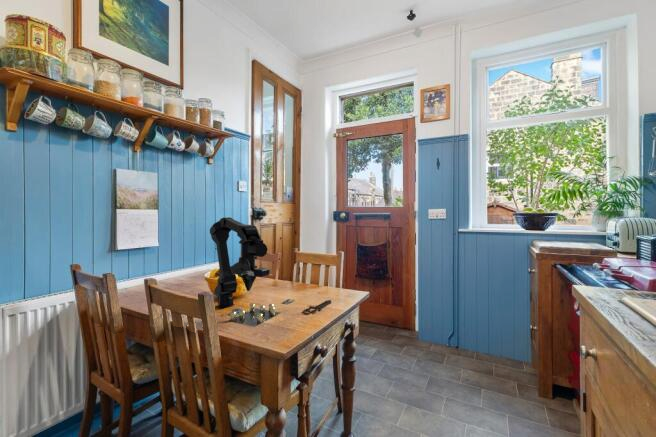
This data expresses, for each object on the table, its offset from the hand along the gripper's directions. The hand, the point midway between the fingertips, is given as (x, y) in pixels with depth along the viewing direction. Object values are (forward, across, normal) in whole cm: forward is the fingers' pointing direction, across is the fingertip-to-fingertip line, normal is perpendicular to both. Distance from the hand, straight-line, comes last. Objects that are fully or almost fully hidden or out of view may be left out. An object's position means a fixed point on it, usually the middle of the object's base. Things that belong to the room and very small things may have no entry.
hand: (248, 290), depth 131 cm
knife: (+12, +21, +24) cm, 34 cm away
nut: (+12, -6, 0) cm, 13 cm away
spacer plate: (+11, +3, 0) cm, 12 cm away
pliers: (+12, +3, +19) cm, 23 cm away
